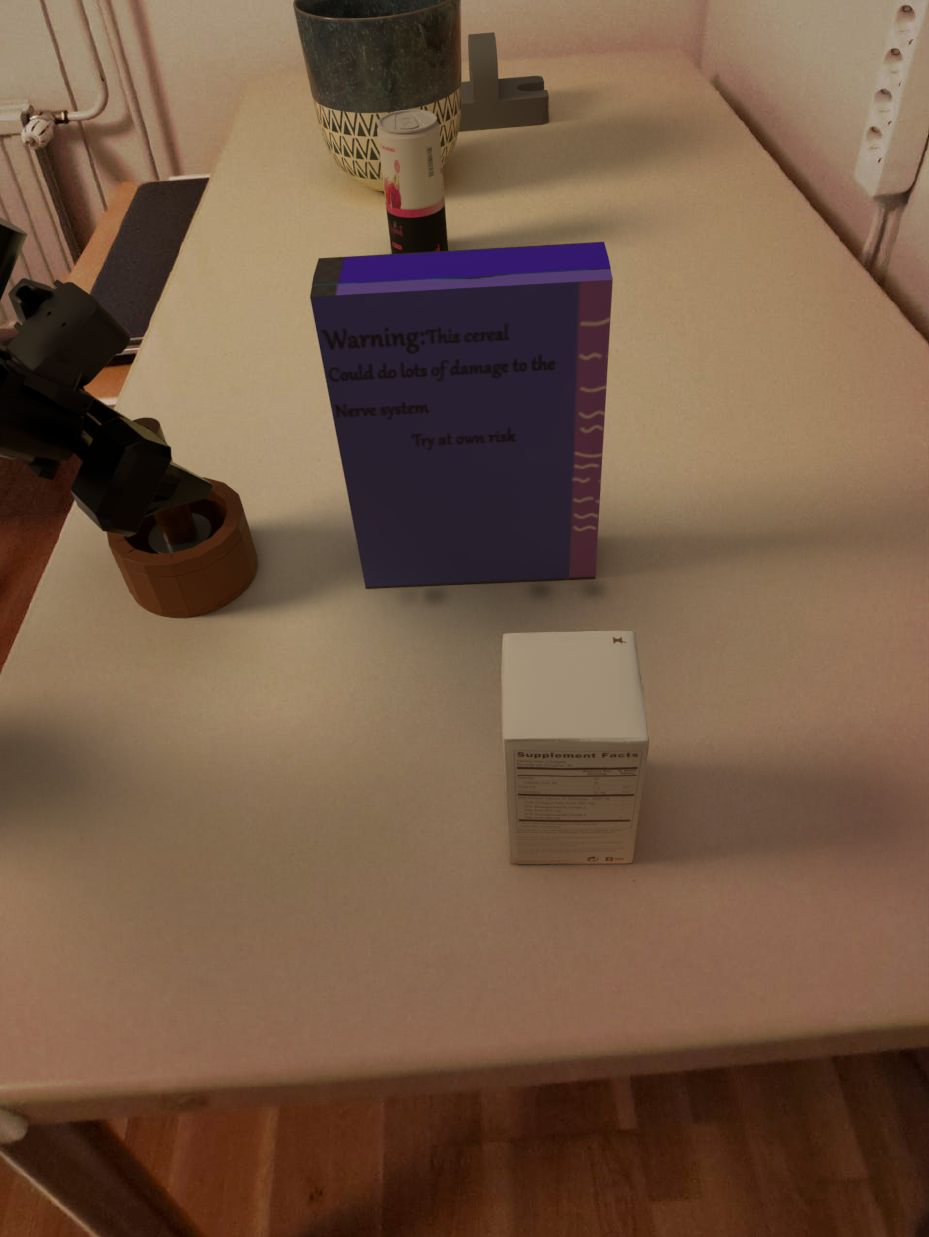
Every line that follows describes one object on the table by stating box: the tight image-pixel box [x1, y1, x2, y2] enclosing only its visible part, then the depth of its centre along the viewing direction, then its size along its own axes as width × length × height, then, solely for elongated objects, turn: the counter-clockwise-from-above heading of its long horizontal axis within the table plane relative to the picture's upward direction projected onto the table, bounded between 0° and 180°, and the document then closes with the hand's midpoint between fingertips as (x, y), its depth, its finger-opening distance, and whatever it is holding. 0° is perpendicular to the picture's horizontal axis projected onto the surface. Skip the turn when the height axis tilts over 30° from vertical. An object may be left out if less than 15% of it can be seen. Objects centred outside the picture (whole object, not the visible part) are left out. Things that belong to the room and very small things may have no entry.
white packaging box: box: [500, 630, 650, 865], centre depth 52 cm, size 7×7×13 cm
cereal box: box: [309, 241, 614, 589], centre depth 64 cm, size 17×5×24 cm, turn 90°
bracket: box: [458, 31, 550, 133], centre depth 135 cm, size 10×18×11 cm, turn 93°
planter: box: [292, 0, 462, 192], centre depth 116 cm, size 20×20×21 cm
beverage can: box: [377, 109, 449, 254], centre depth 103 cm, size 7×6×15 cm
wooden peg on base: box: [132, 416, 214, 554], centre depth 69 cm, size 5×5×13 cm
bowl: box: [106, 476, 259, 618], centre depth 72 cm, size 10×10×6 cm
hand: (175, 462), depth 67 cm, fingers open, 9 cm apart
